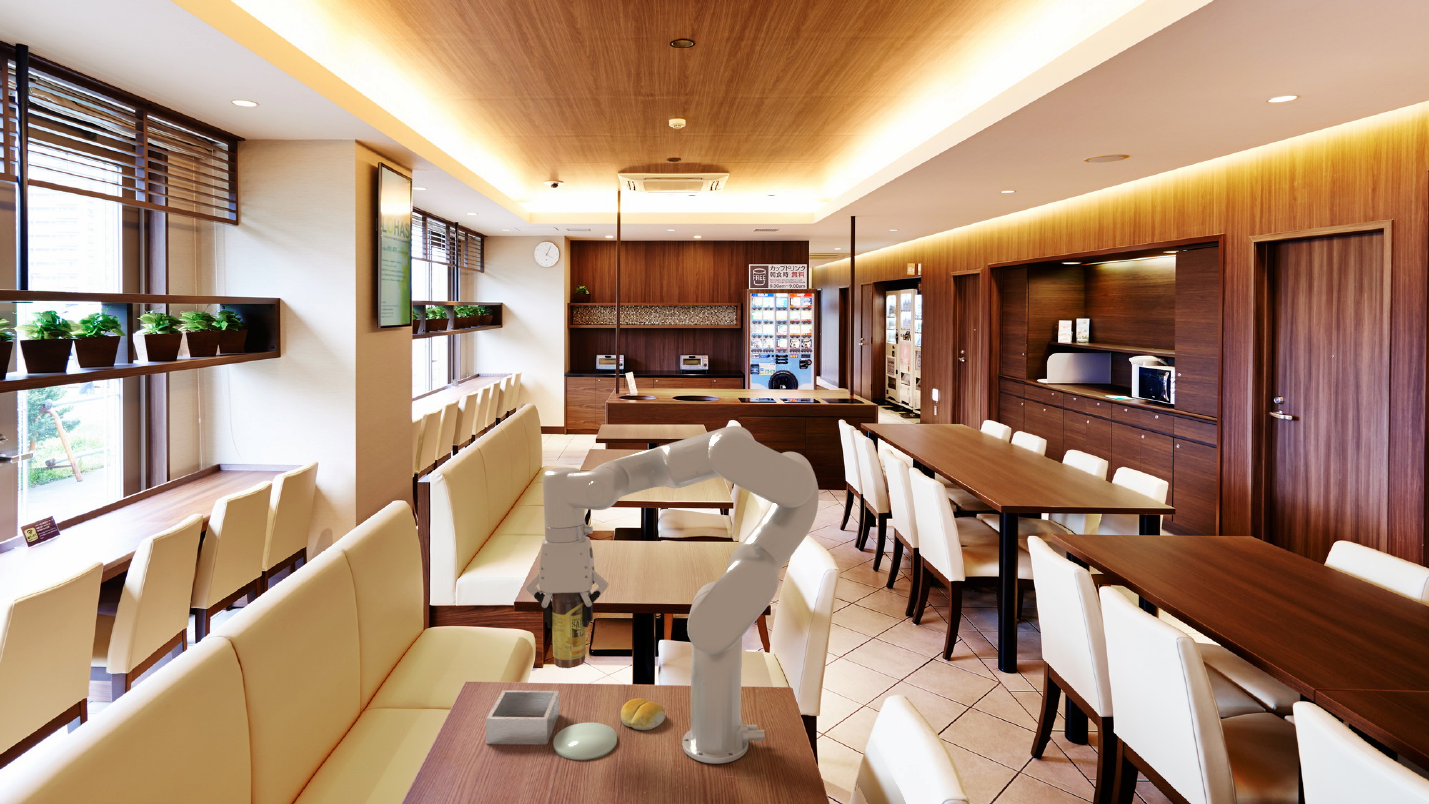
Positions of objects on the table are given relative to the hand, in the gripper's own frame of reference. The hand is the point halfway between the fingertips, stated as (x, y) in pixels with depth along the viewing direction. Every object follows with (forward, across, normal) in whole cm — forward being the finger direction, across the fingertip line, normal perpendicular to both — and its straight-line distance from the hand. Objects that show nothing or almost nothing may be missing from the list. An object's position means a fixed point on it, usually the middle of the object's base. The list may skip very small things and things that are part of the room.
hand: (568, 624), depth 142 cm
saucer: (+23, -2, +1) cm, 23 cm away
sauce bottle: (+8, 0, 0) cm, 8 cm away
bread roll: (+24, -13, -8) cm, 28 cm away
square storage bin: (+22, +10, -3) cm, 25 cm away
